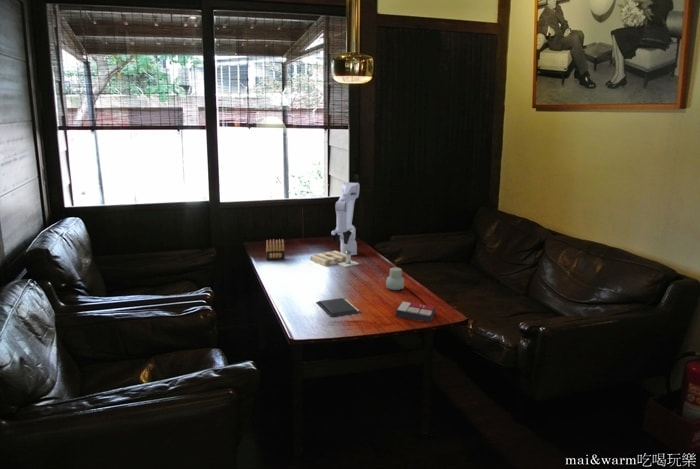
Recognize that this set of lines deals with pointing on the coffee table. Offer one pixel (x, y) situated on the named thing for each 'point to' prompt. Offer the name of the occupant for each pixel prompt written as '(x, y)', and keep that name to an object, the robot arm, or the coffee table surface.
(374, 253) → the coffee table surface
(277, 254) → the ammunition clip
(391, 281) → the air freshener
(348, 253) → the metal cylinder
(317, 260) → the socket block
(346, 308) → the dark grey flat slab
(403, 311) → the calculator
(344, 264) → the mat
